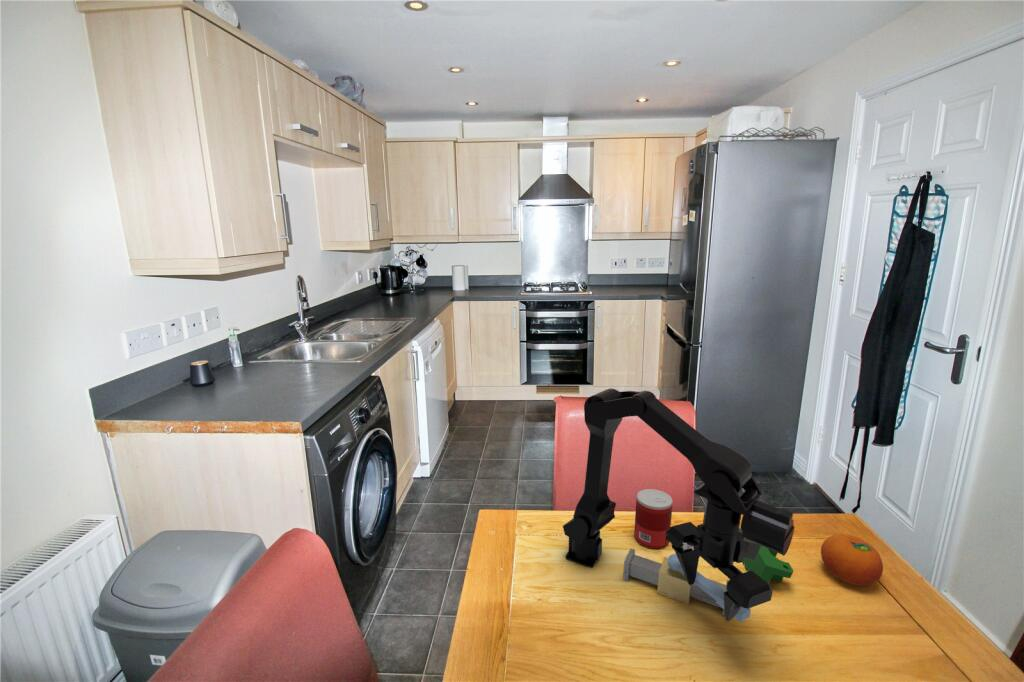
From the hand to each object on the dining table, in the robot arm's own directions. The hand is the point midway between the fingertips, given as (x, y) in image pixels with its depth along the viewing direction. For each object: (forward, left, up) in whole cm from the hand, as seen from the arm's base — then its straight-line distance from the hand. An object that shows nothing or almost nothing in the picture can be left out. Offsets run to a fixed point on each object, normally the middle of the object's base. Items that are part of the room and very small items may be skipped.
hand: (708, 601), depth 84 cm
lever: (-1, +3, -1) cm, 4 cm away
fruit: (+24, +29, -6) cm, 38 cm away
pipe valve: (-7, +7, -6) cm, 11 cm away
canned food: (-15, +21, -6) cm, 26 cm away
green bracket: (+9, +22, -6) cm, 24 cm away
